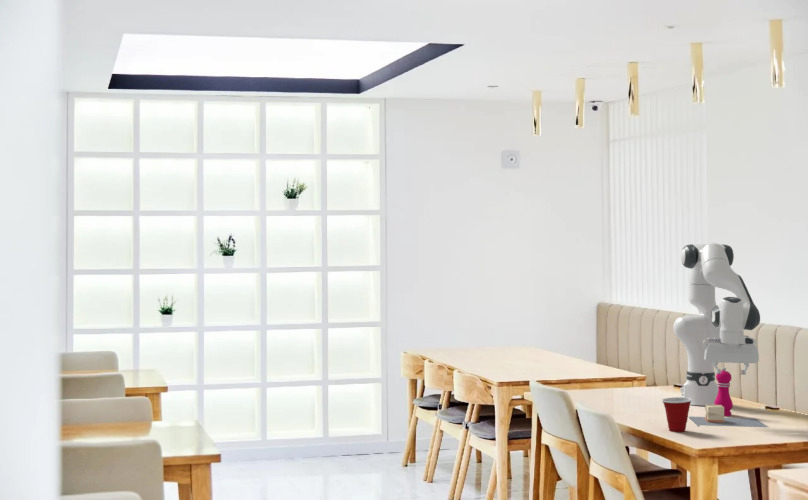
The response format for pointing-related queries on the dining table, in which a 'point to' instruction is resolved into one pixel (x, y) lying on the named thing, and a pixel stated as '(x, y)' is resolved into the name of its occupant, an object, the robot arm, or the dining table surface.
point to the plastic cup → (677, 412)
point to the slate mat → (730, 422)
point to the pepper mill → (724, 391)
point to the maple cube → (714, 413)
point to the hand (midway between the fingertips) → (731, 374)
